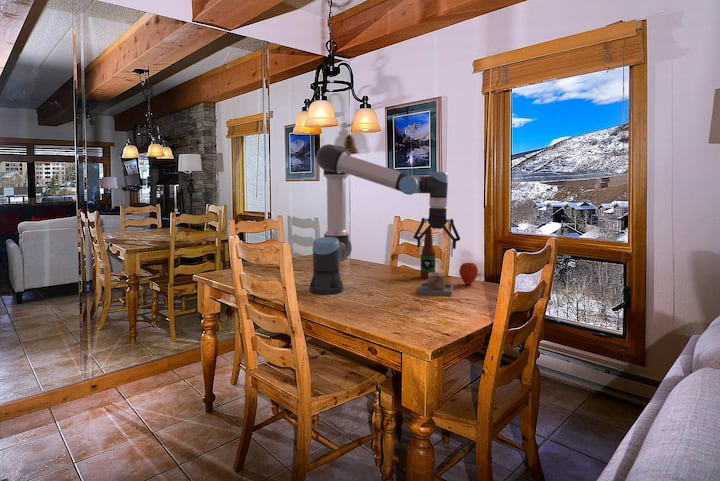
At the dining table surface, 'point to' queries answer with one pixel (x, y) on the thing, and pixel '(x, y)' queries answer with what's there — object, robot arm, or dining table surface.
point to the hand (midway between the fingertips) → (436, 255)
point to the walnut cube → (436, 281)
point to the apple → (468, 272)
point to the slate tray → (424, 290)
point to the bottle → (427, 256)
